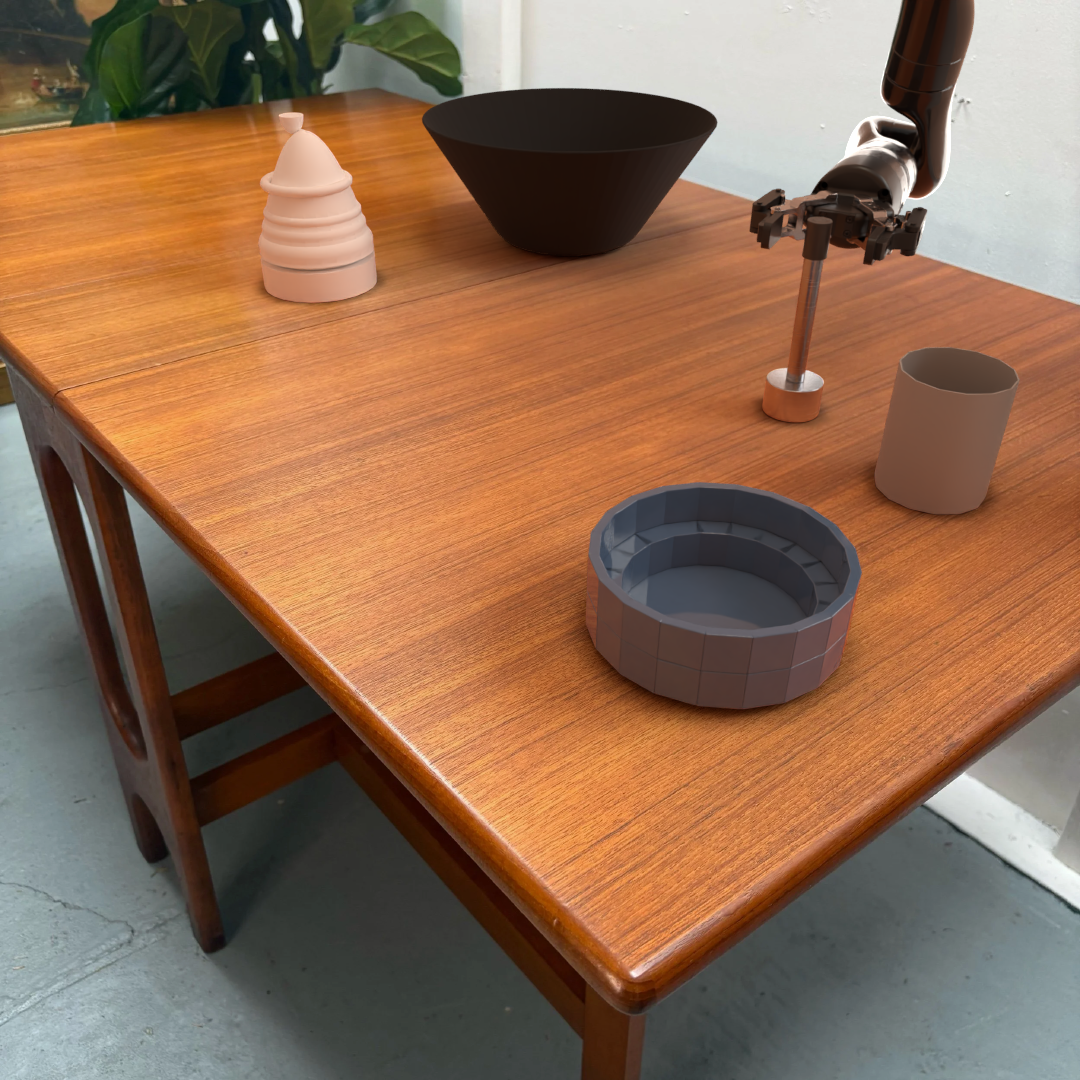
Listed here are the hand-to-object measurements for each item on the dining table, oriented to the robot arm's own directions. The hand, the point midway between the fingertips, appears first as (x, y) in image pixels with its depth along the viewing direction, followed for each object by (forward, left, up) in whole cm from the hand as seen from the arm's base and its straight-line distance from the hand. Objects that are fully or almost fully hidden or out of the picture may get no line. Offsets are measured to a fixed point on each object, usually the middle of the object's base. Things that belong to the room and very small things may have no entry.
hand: (816, 244), depth 83 cm
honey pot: (+51, -27, -15) cm, 60 cm away
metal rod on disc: (0, 0, -15) cm, 15 cm away
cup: (-10, +12, -15) cm, 22 cm away
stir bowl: (+8, +32, -15) cm, 36 cm away
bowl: (+24, -46, -15) cm, 54 cm away
